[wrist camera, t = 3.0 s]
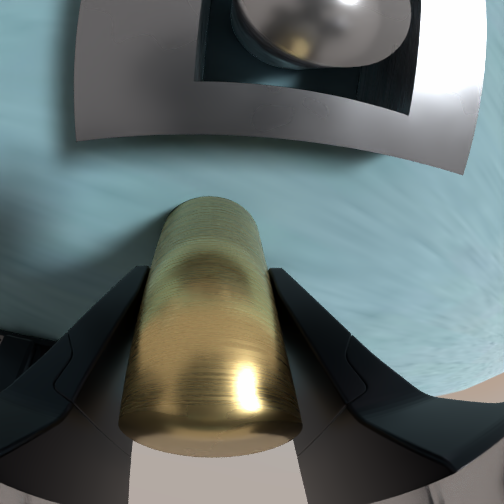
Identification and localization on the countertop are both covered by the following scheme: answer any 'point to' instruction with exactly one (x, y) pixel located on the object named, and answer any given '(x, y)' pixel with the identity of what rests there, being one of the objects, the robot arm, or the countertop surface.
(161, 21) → the jig
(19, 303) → the countertop surface
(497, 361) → the countertop surface
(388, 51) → the silver round knob
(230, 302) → the gold domed cylinder
